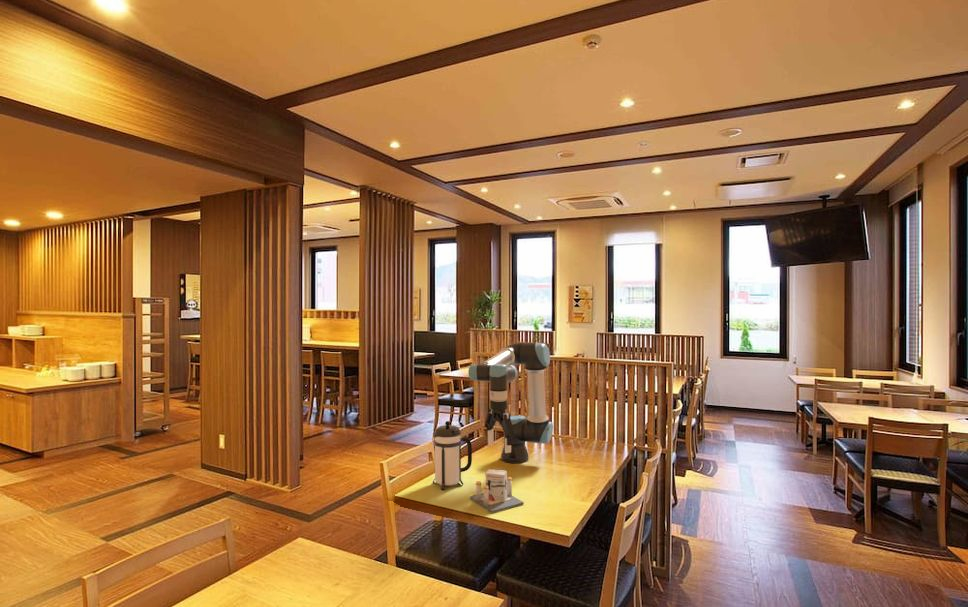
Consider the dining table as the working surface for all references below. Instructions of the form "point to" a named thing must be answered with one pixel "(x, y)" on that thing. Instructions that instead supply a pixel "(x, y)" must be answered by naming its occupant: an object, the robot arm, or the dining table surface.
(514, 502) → the header pad
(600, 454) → the dining table surface
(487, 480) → the ink box
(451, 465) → the coffee press
